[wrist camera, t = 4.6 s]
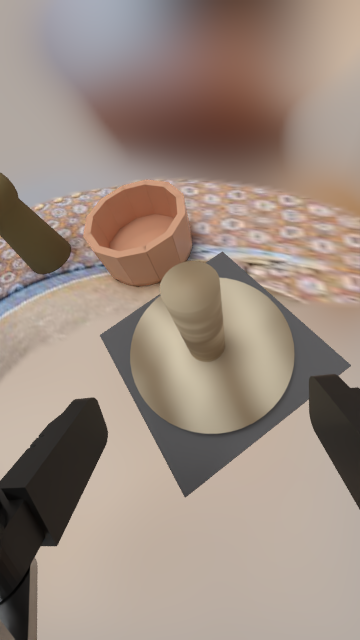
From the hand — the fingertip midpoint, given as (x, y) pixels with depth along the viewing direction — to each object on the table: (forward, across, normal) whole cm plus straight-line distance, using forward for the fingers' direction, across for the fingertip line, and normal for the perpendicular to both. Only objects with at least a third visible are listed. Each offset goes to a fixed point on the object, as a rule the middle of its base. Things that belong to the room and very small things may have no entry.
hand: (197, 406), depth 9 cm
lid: (+12, 0, +3) cm, 12 cm away
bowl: (+22, +6, -6) cm, 24 cm away
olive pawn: (+24, +20, -8) cm, 32 cm away
